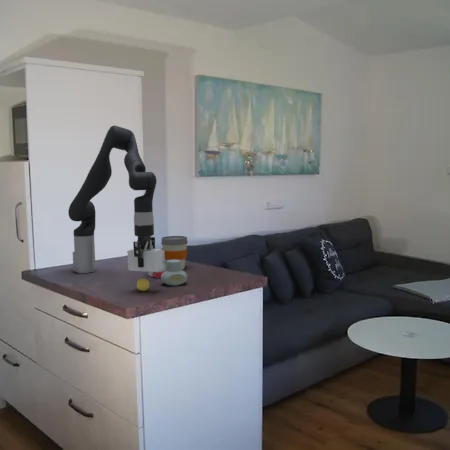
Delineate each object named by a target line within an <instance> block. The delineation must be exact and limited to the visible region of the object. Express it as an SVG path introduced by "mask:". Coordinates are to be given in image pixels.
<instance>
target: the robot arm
mask: <svg viewBox="0 0 450 450" xmlns="http://www.w3.org/2000/svg"><path fill="white" fill-rule="evenodd" d="M113 149H116V150H119V151H120V150H121V151H125V152H126V154H124V155H125V156H124V159H123V163H124V166H125V168H126V171H127V174H128V186H129V188H131V190H133V191H145V192H144V194H143V195H142V194H141V195H139V196H136V197H135V198H134V200H133V205H134V213H133V214H134V215H133V225H134V228H133V230H134V233H133V234H134V236H135V237H137V241H133V243H132V245H133V249H134V257H137V258H138V267H144V258H143V257H144V252H145V251H146V249H156V237H155V236H154V235H155V227H154V226H155V223H154V222H155V221H154V212H153V211H154V210H153V199H154V194H155V190H156V187H157V176H156V175H155V173H154V172H152V171H146V165H145V164H144V162H143V160H142V157H141V155H140V153H139V148H138V144H137V140H136V137H135V134H134V132H133V131H132V130H131V129H128V128H125V127H122V126H118V125H112V126H110V127H109V129H108V130H107V131H106V135H105V137H104V139H103V142H102V144H101V147H100V149H99V151H98V154H97V156H96V158H95V160H94V162H93V164H92V166H91V168H90V169H89V171H88V174H87V176H86V178H85V180H84V182H83V184H81V187H80V189H79V191H78V192H77V194H76V195H75V197H74V198H73V200H72V201H71V203H70V205H69V206H68V210H67V211H68V217H69V219H70V220H71V221H73V222H80V224H79V225H78V226H77V227H76V228H74V229H73V247H74V248H73V249H74V251H73V252H72V265H73V266H72V268H73V271H75V272H74V273H76V272H77V274H90V272H91V273H94V272H96V271H97V270H96V251H95V250H96V246H95V229H96V208H95V205H94V203H93V202H92V201H91V200H92V199H93V198H94V197H95V196H97V195H98V194H99V193H100V192H101V191H103V190H104V189H105V188H106V186H107V185H108V182H109V181H110V179H111V177H112V174H113V172H112V165H111V160H110V159H111V158H110V155H111V152H112V150H113ZM136 251H137V252H136ZM141 252H142V254H141ZM95 270H96V271H95Z"/></svg>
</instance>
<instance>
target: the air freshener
mask: <svg viewBox="0 0 450 450" xmlns="http://www.w3.org/2000/svg"><path fill="white" fill-rule="evenodd" d="M160 279H161V281H162V283H164V284H165V285H167V286H172V287H178V286H180V285H182V284H184V283H186V281H187V279H188V274H187V273H186V271H184V270H183V269H182V270H181V261H180V260H168V261H167V270H165V272H164V273H163V274H162V275H161V277H160Z"/></svg>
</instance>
